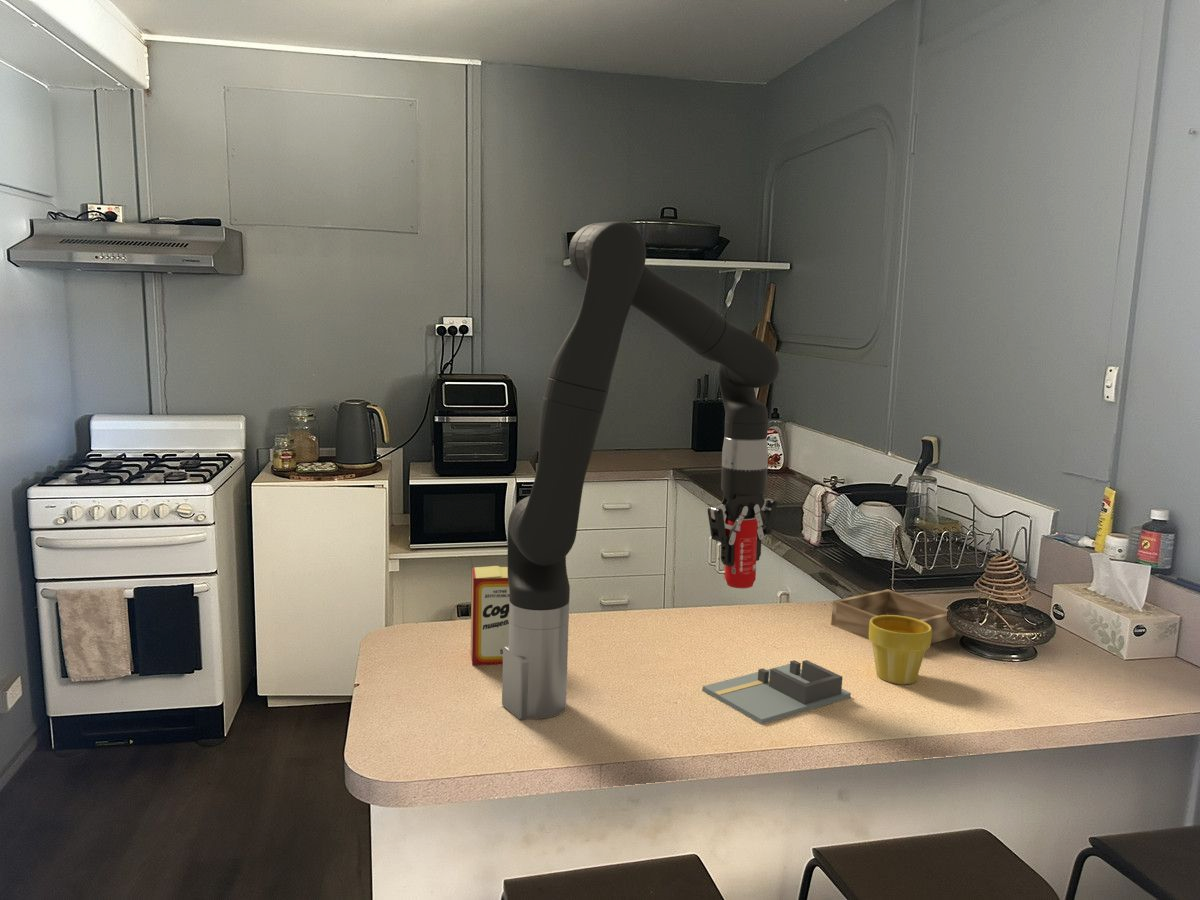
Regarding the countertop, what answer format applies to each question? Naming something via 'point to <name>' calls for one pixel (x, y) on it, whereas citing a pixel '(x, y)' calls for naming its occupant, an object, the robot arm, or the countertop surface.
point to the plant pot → (899, 646)
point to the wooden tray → (862, 608)
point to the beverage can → (743, 555)
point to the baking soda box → (489, 614)
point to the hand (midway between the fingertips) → (740, 562)
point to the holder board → (780, 691)
